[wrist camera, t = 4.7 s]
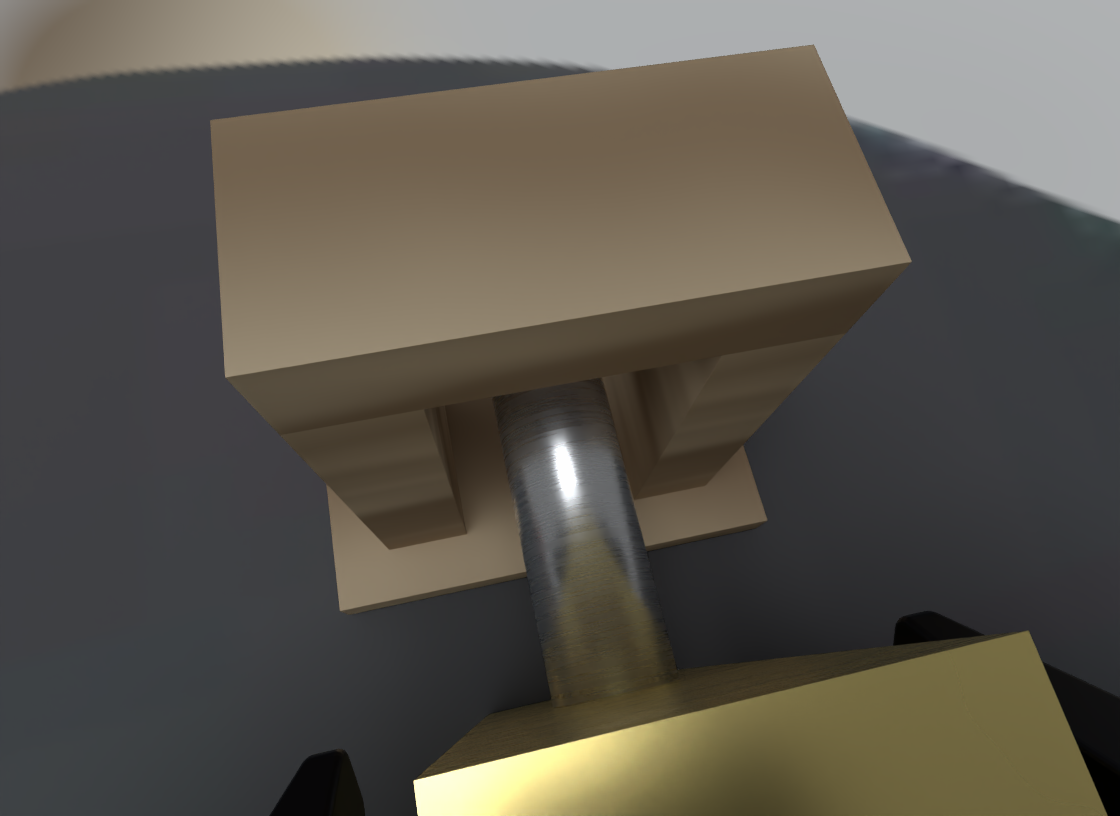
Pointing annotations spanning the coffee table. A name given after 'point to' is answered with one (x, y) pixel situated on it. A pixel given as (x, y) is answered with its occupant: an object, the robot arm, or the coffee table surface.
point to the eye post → (540, 291)
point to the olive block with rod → (728, 685)
